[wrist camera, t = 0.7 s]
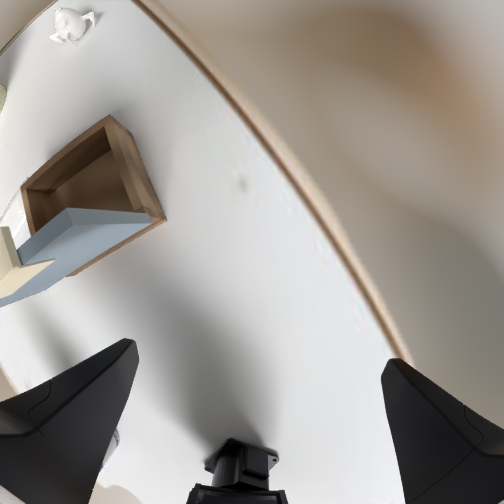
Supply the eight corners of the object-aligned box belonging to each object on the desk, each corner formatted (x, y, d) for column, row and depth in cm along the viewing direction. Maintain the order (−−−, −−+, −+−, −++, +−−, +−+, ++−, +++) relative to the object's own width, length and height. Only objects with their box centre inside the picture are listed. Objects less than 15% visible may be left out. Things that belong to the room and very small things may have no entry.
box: (167, 220, 24) (146, 215, 19) (74, 275, 25) (45, 280, 20) (131, 133, 24) (109, 114, 19) (48, 193, 24) (20, 186, 19)
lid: (141, 199, 19) (153, 224, 19) (37, 269, 19) (46, 290, 20) (48, 180, 8) (64, 228, 8) (-52, 295, 8) (-41, 326, 9)
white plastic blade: (-18, 252, 25) (-23, 252, 24) (28, 174, 25) (23, 172, 24) (-8, 279, 25) (-13, 280, 24) (41, 201, 25) (35, 200, 24)
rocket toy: (77, 51, 24) (49, 22, 16) (59, 48, 24) (32, 22, 16) (102, 23, 24) (79, -8, 16) (81, 22, 24) (59, -6, 16)
